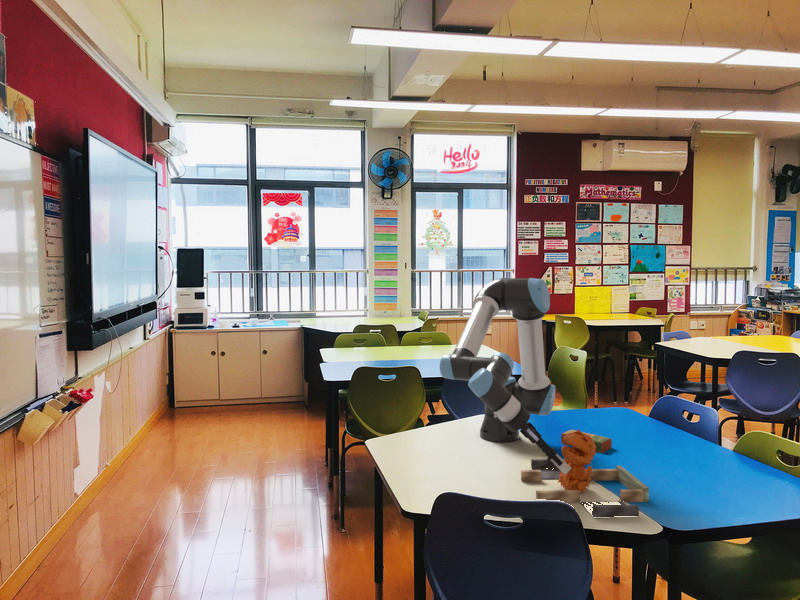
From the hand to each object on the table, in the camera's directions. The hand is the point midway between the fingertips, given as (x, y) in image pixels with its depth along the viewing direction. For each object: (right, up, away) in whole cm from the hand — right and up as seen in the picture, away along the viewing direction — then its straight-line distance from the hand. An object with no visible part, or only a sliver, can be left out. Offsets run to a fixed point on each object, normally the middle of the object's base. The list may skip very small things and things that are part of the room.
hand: (567, 470), depth 164 cm
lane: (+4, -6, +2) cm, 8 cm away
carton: (+20, -5, +45) cm, 50 cm away
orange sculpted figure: (+2, -6, +2) cm, 7 cm away
